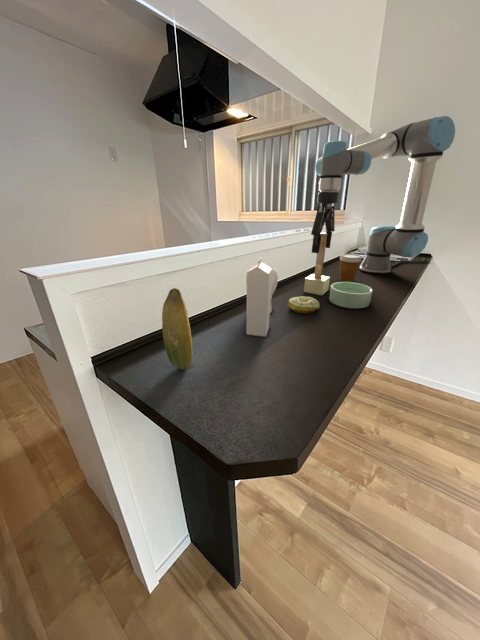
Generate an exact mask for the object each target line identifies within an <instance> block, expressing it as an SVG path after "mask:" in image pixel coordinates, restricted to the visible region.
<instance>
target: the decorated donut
mask: <svg viewBox="0 0 480 640" xmlns="http://www.w3.org/2000/svg"><path fill="white" fill-rule="evenodd" d="M288 307H289V308H290V310H292V311H293V312H295V313H298V314H313V313H314V312H316V311H317V310H319V309H320V302H319V301H318V300H317V299H316V298H314V297H311V296H303V295H301V296H294V297H291V298H290V299H288Z"/></svg>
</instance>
